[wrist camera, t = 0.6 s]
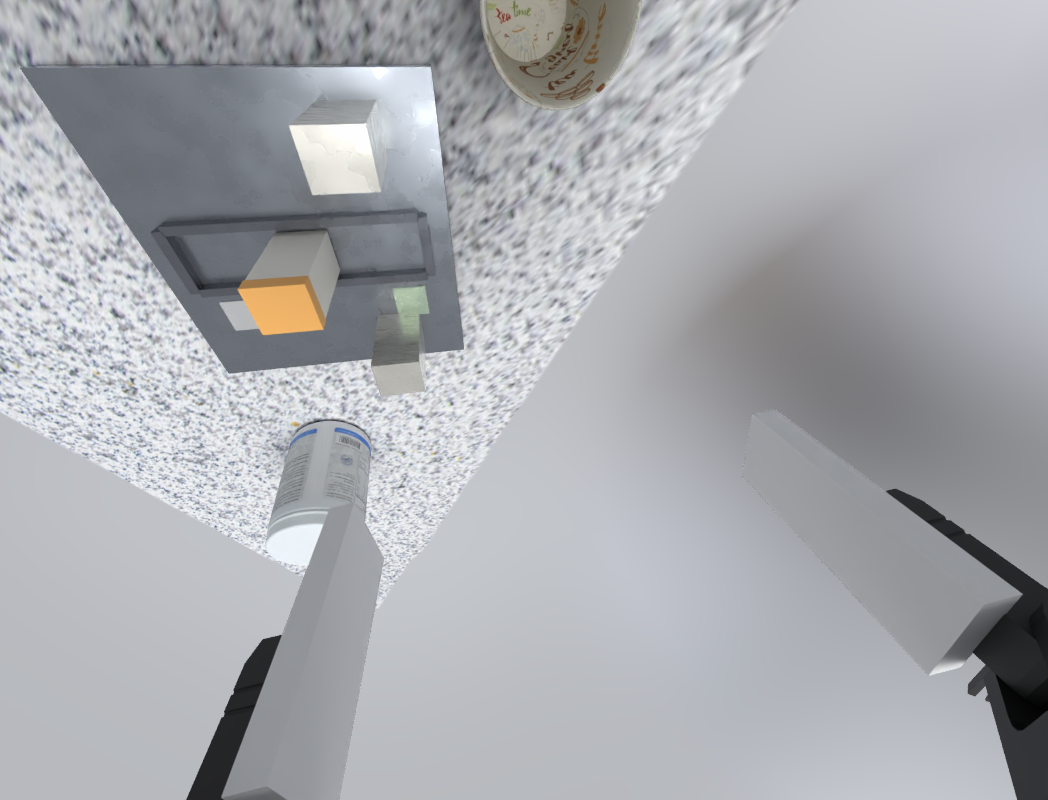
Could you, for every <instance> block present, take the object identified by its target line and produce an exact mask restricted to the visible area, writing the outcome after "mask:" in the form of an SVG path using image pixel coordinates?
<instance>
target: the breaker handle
mask: <svg viewBox="0 0 1048 800" xmlns="http://www.w3.org/2000/svg"><path fill="white" fill-rule="evenodd" d="M339 273H340V268H339V265H338V262H337V259H336V256H335V253H334V250H333V247H332V244H331V241H330V238H329V235H328V232H327V230H318V231H301V232H284V233H274V235H273V237H272V238H271V240H270V241H269V243H268V244H267V246H266V248H265V249H264V251H263V252H262V254H261V256H260V257H259V259H258V260H257V262H256V263H255V265H254V267H253V268H252V270H251V271H250V273H249V274H248V276H247V278H246V279H245V280H243V281H242V283H241V285H240V286H239V288H238V289H237V290H238V291H239V293H240V295H241V297H242V299H243V300H244V302H245V304H246V306H247V308H248V309H249V311H250V313H251V315H252V317H253V318H254V320H255V322H256V324H257V326H258V328H259V329H260V331H261V333H262V335H271V334H282V333H293V332H304V331H315V330H324V327H325V323H326V316H327V313H328V309H329V306H330V303H331V299H332V296H333V293H334V289H335V286H336V283H337V279H338V276H339Z"/></svg>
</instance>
